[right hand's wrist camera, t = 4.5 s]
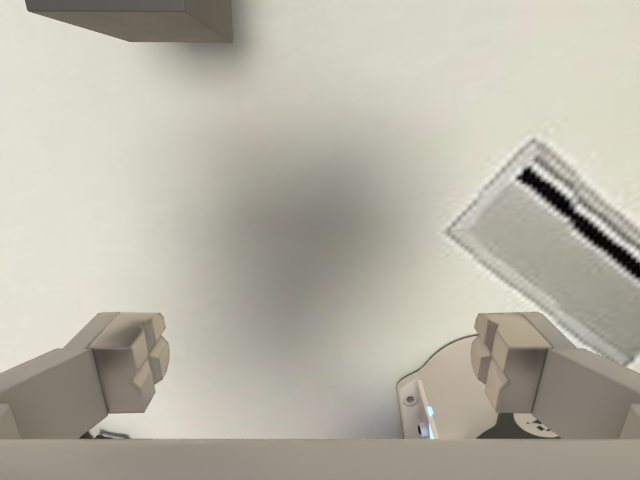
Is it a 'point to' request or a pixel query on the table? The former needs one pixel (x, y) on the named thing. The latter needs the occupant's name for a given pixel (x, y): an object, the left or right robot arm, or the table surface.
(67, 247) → the table surface
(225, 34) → the box
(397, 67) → the table surface
